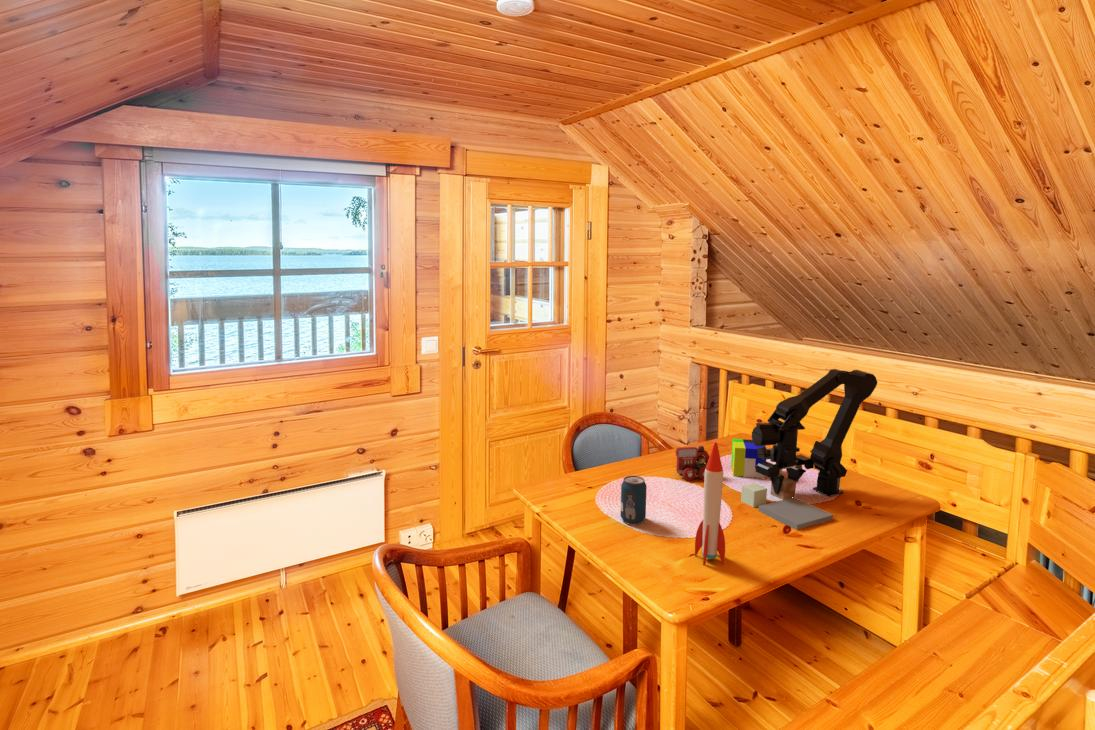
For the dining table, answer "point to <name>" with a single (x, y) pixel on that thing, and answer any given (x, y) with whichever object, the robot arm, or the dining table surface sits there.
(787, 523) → the base board
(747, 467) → the puzzle toy
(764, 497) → the sage cube
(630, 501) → the soda can
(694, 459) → the toy fire truck
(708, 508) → the toy rocket
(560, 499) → the dining table surface
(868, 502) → the dining table surface
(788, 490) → the walnut cube
